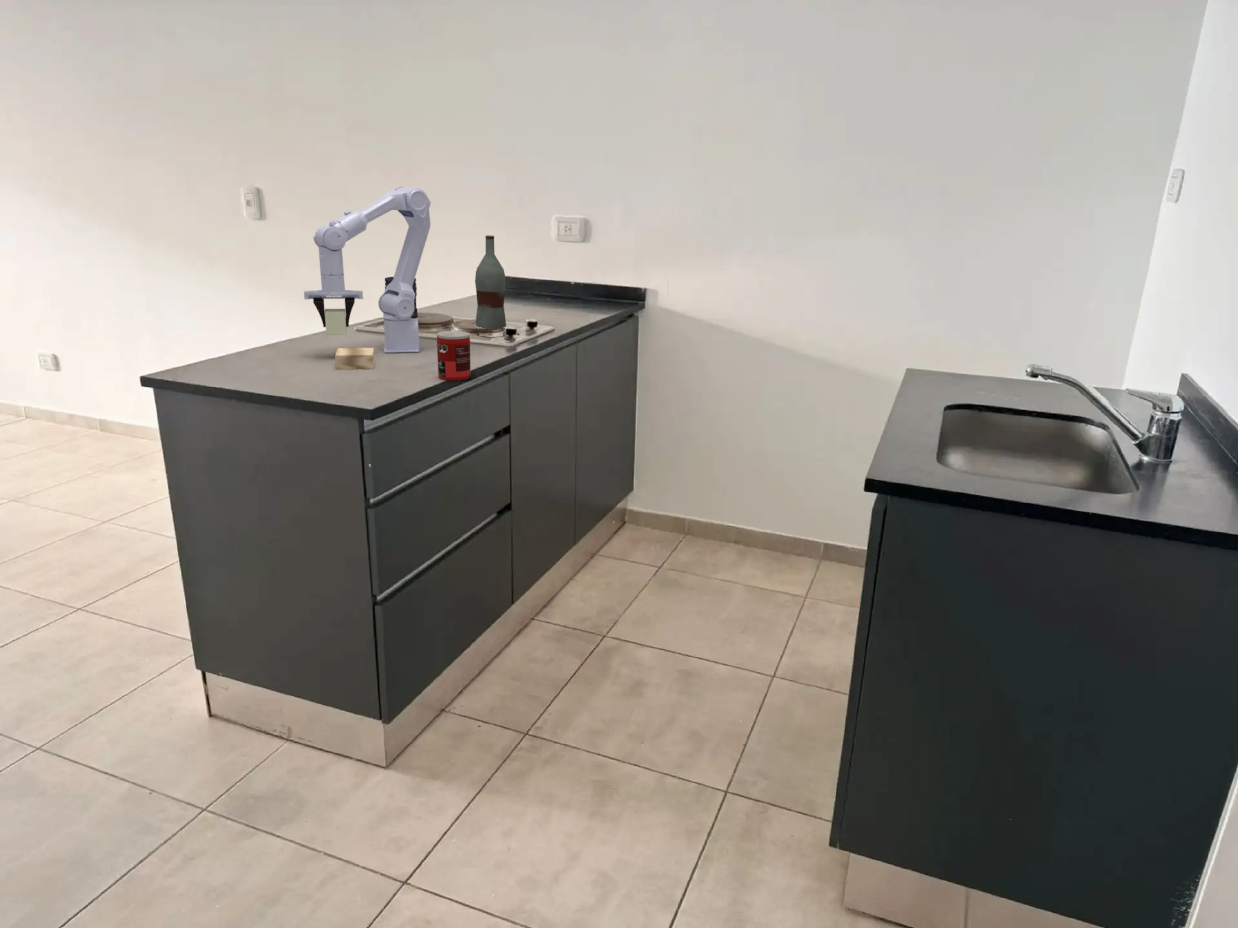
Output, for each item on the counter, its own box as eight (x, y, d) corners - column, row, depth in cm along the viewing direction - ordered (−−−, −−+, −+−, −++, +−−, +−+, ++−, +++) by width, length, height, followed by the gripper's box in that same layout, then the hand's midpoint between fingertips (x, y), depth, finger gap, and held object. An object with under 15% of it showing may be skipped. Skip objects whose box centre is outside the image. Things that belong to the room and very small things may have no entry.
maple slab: (374, 362, 224) (373, 347, 222) (373, 370, 216) (372, 355, 214) (339, 363, 222) (338, 348, 220) (336, 371, 213) (335, 355, 212)
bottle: (486, 339, 258) (484, 237, 248) (470, 334, 264) (468, 234, 254) (511, 336, 264) (511, 236, 254) (495, 331, 270) (494, 234, 260)
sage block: (346, 331, 227) (345, 308, 225) (346, 334, 223) (344, 311, 221) (327, 331, 226) (325, 308, 224) (326, 335, 221) (324, 312, 219)
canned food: (440, 373, 214) (438, 330, 210) (471, 374, 215) (471, 331, 211) (436, 380, 207) (434, 336, 203) (469, 381, 207) (468, 336, 204)
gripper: (361, 272, 225) (364, 323, 229) (303, 272, 221) (307, 324, 225) (361, 275, 218) (364, 328, 223) (301, 275, 214) (306, 329, 219)
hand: (336, 326), depth 224 cm, fingers closed on sage block, 5 cm apart
